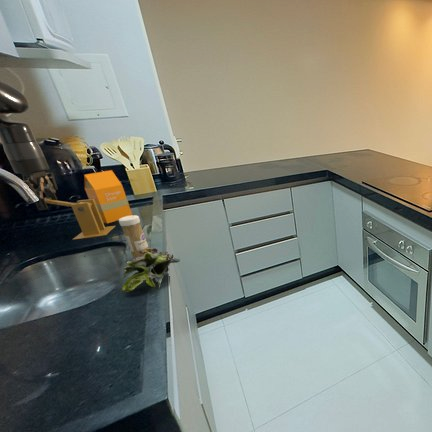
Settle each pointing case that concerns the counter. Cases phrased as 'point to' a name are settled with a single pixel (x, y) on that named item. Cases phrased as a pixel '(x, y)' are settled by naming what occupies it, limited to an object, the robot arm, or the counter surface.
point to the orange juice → (107, 195)
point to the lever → (60, 202)
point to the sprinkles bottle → (134, 235)
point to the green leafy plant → (147, 268)
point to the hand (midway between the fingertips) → (49, 206)
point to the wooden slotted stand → (89, 219)
